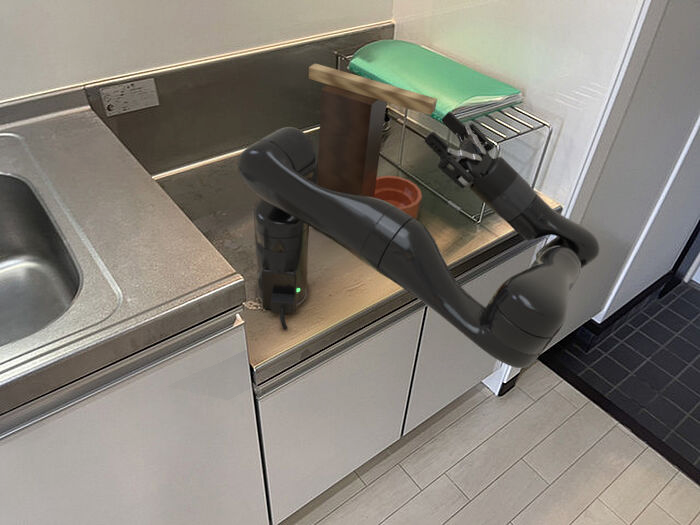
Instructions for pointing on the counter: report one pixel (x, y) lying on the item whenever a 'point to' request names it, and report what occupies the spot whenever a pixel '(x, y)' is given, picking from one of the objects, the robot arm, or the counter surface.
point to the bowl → (399, 193)
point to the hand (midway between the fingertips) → (436, 125)
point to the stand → (349, 141)
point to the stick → (373, 89)
